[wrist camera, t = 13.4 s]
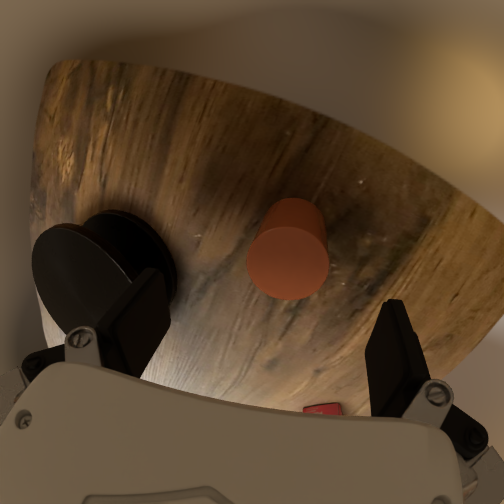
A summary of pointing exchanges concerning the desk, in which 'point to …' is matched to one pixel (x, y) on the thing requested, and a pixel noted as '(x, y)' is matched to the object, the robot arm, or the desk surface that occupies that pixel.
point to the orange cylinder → (290, 250)
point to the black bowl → (96, 265)
